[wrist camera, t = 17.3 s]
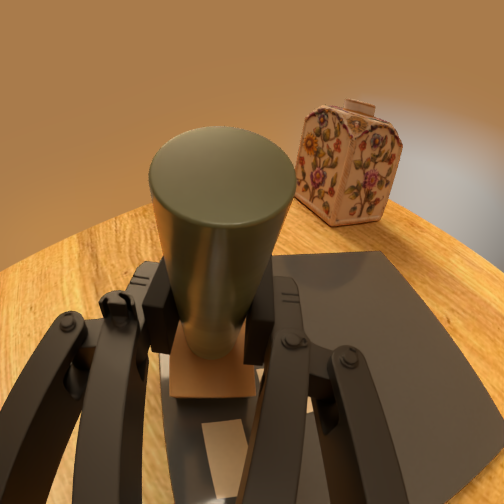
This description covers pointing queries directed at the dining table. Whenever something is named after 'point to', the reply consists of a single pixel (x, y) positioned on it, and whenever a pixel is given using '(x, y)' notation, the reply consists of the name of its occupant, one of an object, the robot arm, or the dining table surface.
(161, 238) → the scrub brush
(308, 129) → the decorative jar
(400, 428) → the tile
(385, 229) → the dining table surface
